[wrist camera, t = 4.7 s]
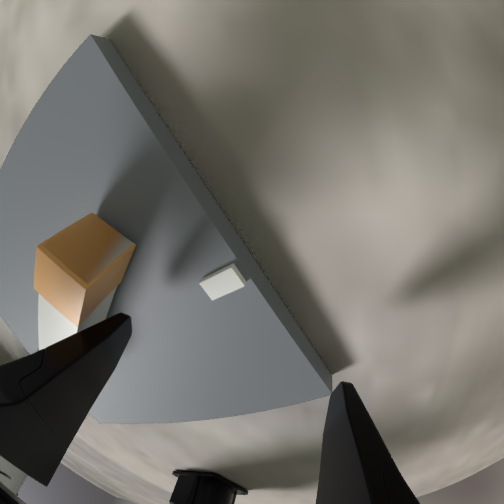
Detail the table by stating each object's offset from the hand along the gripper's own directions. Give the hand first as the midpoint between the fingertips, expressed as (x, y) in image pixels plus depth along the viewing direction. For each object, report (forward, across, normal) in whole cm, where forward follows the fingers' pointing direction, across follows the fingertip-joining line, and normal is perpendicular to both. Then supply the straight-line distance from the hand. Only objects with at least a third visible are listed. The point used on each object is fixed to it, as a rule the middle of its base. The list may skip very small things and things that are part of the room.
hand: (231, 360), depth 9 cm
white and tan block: (+1, +7, +2) cm, 8 cm away
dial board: (+3, +9, +4) cm, 10 cm away
